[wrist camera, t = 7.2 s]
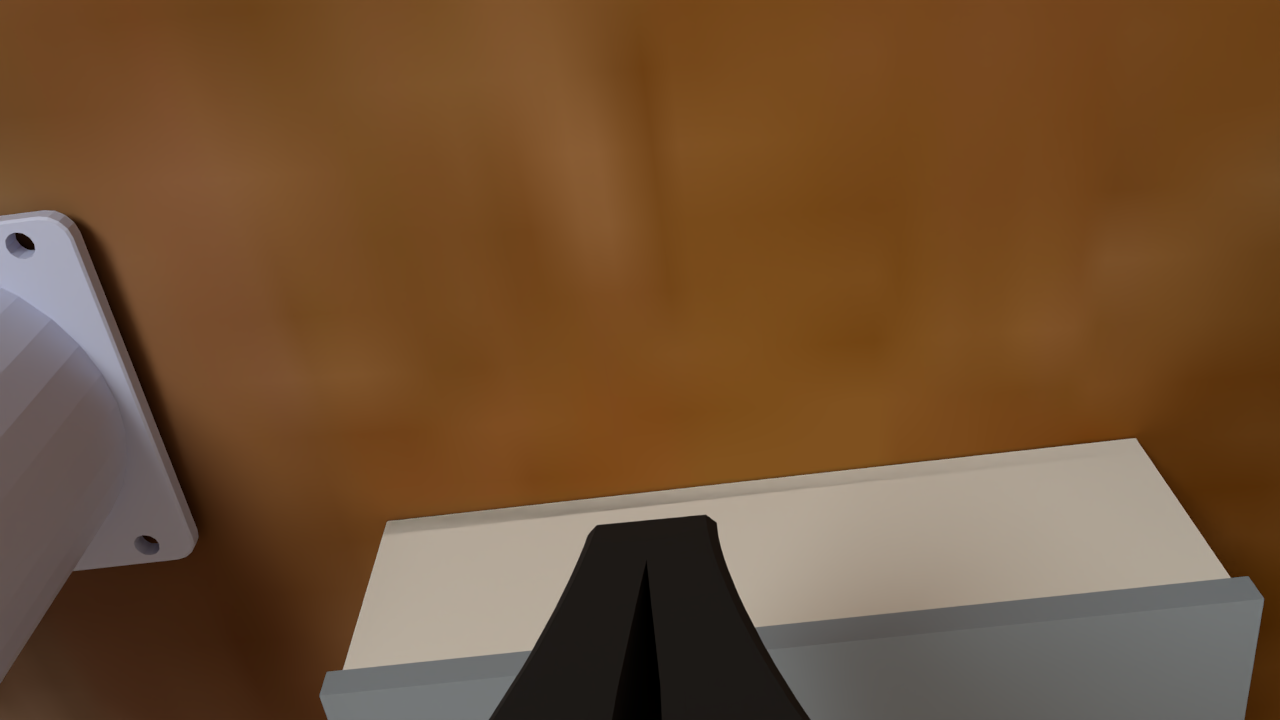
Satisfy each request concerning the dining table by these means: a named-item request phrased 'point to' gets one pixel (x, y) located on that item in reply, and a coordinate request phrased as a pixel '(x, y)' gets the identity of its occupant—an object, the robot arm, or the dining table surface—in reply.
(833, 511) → the box
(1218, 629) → the lid
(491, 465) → the dining table surface
